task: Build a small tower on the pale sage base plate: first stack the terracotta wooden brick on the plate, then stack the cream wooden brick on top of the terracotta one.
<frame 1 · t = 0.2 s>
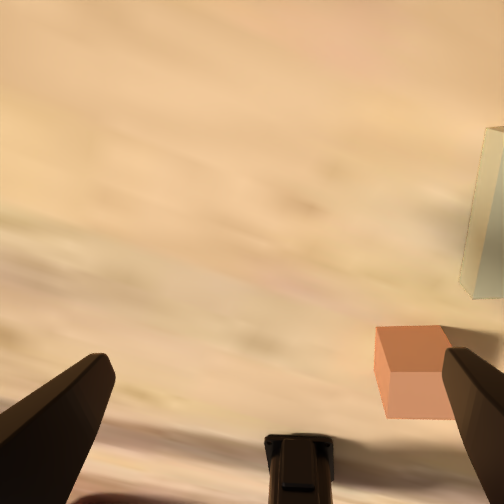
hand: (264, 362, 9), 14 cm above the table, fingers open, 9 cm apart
brick terracotta: (404, 348, 26), on the table
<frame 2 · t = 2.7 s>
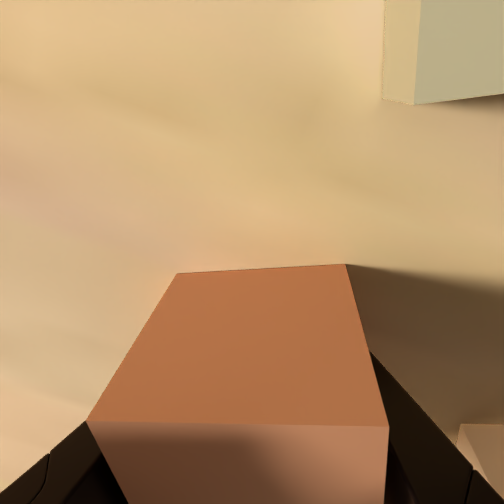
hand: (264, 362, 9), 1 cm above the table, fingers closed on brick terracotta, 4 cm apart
brick terracotta: (266, 335, 10), on the table, touching gripper
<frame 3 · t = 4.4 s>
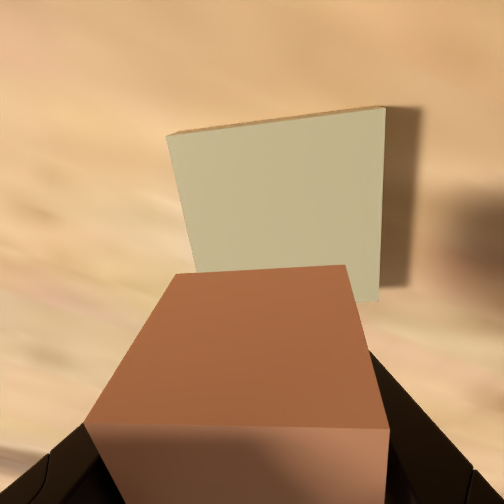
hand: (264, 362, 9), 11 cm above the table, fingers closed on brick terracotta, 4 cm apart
base plate: (281, 212, 19), on the table
brick terracotta: (266, 336, 10), point 10 cm above the table, touching gripper
when the fingers open (4 cm above the table, at t = 6.0 s): brick terracotta drops 1 cm, resting on base plate.
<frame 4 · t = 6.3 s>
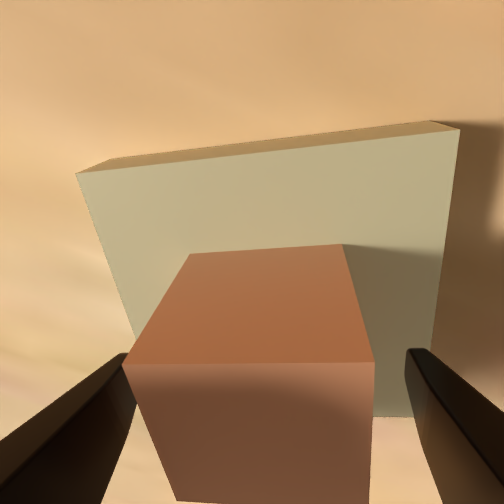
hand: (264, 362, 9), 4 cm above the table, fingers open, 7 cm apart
base plate: (273, 278, 13), on the table
brick terracotta: (270, 311, 11), point 2 cm above the table, touching base plate
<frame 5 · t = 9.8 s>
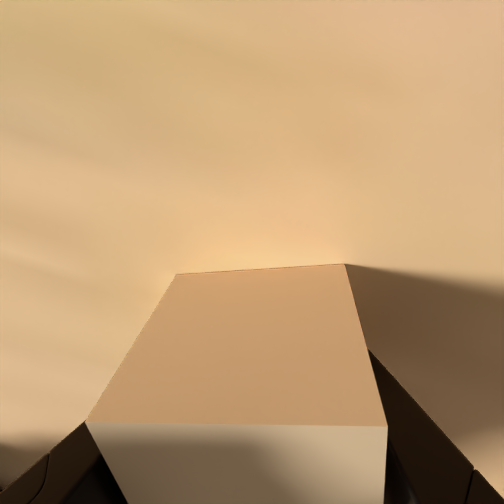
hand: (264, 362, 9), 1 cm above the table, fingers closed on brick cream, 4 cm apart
brick cream: (266, 335, 10), on the table, touching gripper
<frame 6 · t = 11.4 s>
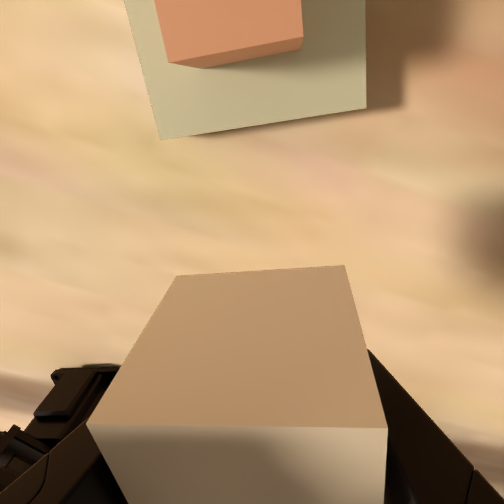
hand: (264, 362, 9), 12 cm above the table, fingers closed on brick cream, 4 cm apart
base plate: (246, 8, 16), on the table
brick cream: (267, 336, 10), point 11 cm above the table, touching gripper
when the fingers open (9 cm above the table, at t = 13.1 s): brick cream drops 1 cm, resting on brick terracotta.
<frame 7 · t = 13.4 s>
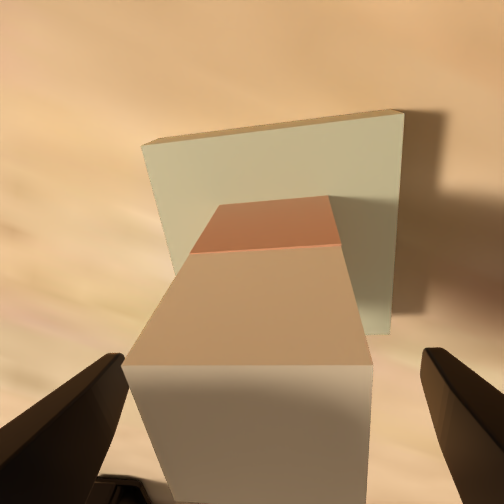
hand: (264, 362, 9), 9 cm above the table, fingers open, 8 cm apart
base plate: (278, 231, 17), on the table
brick cream: (269, 312, 11), point 6 cm above the table, touching brick terracotta
brick terracotta: (277, 248, 15), point 2 cm above the table, touching base plate, brick cream
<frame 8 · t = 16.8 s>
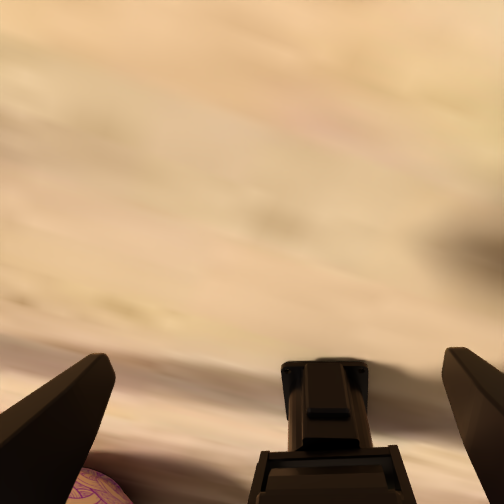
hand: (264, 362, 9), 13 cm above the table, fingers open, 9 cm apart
bowl of food: (91, 486, 39), on the table
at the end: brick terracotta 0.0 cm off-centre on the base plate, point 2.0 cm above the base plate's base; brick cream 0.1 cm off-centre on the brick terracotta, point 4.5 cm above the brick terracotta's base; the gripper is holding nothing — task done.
